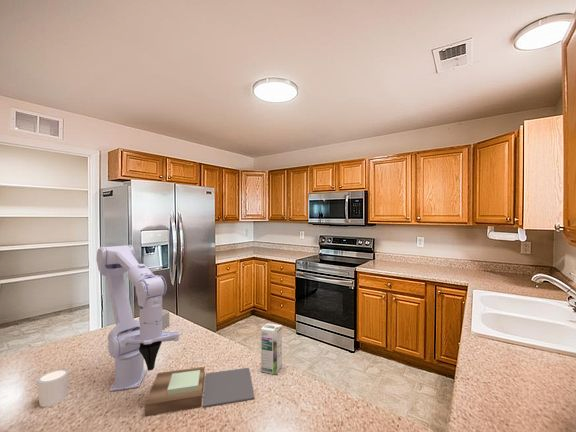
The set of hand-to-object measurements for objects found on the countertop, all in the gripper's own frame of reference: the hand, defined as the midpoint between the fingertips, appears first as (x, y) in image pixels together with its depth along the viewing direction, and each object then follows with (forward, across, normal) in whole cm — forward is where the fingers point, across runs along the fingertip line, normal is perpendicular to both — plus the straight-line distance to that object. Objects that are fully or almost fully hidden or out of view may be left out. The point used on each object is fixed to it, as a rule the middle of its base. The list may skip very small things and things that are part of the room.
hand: (151, 368), depth 76 cm
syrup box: (+9, +36, +7) cm, 38 cm away
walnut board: (+9, +7, +1) cm, 11 cm away
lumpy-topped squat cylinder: (+9, -12, +56) cm, 58 cm away
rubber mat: (+9, +22, +1) cm, 23 cm away
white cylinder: (+9, -27, +7) cm, 29 cm away
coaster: (+6, +9, 0) cm, 11 cm away
